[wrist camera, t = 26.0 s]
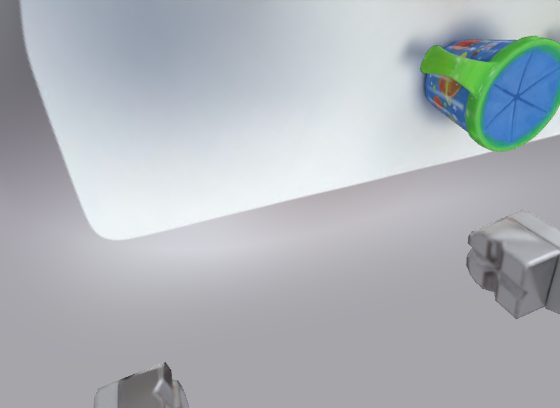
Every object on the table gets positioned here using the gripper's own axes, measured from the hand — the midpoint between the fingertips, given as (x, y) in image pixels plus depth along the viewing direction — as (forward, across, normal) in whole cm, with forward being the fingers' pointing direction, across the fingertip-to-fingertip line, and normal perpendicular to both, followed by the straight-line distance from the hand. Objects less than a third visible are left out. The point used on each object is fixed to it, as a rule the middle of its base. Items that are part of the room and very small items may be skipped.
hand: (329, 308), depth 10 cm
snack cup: (+31, -28, +10) cm, 43 cm away
